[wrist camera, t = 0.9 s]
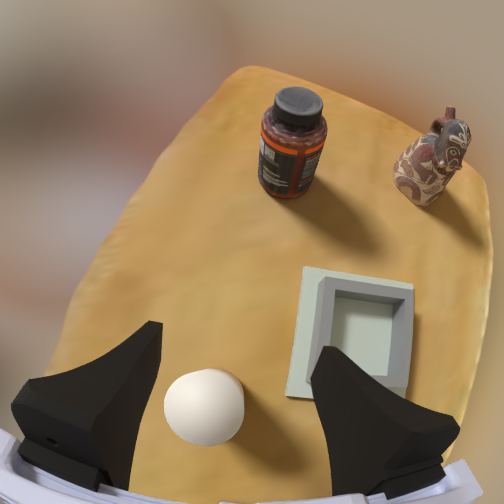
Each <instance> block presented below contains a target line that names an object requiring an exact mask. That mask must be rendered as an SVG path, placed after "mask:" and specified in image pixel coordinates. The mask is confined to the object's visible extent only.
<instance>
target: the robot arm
mask: <svg viewBox="0 0 504 504" xmlns="http://www.w3.org/2000/svg"><path fill="white" fill-rule="evenodd" d="M162 330H163V323H159V322H154V321H148V322H146V323H145V324H144V325H143V326H142V327H141V328H140V329H138V330H137V331H136V332H135V333H134V334H132V335H131V336H130V337H129V338H127V339H126V340H125V341H124V342H122V343H121V344H120V345H118V346H117V347H115V348H114V349H112V350H111V351H109V352H108V353H106V354H105V355H103V356H101V357H100V358H98V359H96V360H94V361H92V362H90V363H87V364H85V365H83V366H80V367H78V368H75V369H73V370H70V371H67V372H63V373H60V374H56V375H52V376H47V377H41V378H35V379H29V380H28V381H27V382H26V384H25V385H24V386H23V387H22V389H21V390H20V392H19V393H18V395H17V396H16V398H15V399H14V401H13V403H12V404H11V410H12V413H13V416H14V418H15V420H16V422H17V423H18V425H19V427H20V429H21V431H22V432H23V434H24V436H25V438H24V440H23V442H22V443H21V442H20V441H19V440H18V439H17V438H16V437H14V436H13V435H11V434H9V433H7V432H6V431H4V430H2V429H1V428H0V500H1V501H3V502H4V503H5V504H188V503H181V502H175V501H169V500H164V499H158V498H154V497H149V496H144V495H140V494H136V493H132V492H128V489H129V481H130V474H131V467H132V461H133V455H134V450H135V445H136V440H137V435H138V431H139V426H140V422H141V419H142V416H143V413H144V410H145V408H146V405H147V402H148V400H149V397H150V394H151V392H152V389H153V386H154V384H155V381H156V378H157V374H158V370H159V366H160V362H161V349H162ZM310 381H311V388H312V394H313V398H314V402H315V405H316V408H317V411H318V415H319V418H320V421H321V424H322V427H323V430H324V433H325V437H326V442H327V447H328V453H329V460H330V468H331V478H332V497H325V498H316V499H306V500H293V501H274V502H263V503H256V504H471V503H472V502H474V501H475V500H476V499H477V498H479V497H480V496H481V495H482V494H483V491H482V489H481V487H480V485H479V484H478V482H477V480H476V478H475V477H474V475H473V473H472V472H471V470H470V468H469V467H468V465H467V464H466V462H465V460H464V459H460V460H458V461H456V462H453V463H451V464H449V465H447V466H445V467H444V468H442V466H441V463H442V462H443V460H444V459H443V458H442V456H441V455H442V454H443V453H444V452H445V451H446V449H447V448H448V447H449V446H450V445H451V444H452V443H453V442H454V440H455V439H456V438H457V436H458V434H459V432H460V427H459V425H458V424H457V422H456V421H455V419H454V418H453V417H452V416H450V415H447V414H443V413H439V412H435V411H432V410H430V409H427V408H424V407H421V406H419V405H417V404H414V403H412V402H410V401H408V400H406V399H404V398H402V397H401V396H399V395H397V394H395V393H394V392H392V391H391V390H389V389H387V388H386V387H384V386H383V385H382V384H380V383H379V382H378V381H376V380H375V379H374V378H372V377H371V376H370V375H369V374H367V373H366V372H365V371H364V370H363V369H361V368H360V367H359V366H358V365H357V364H356V363H355V362H353V361H352V360H351V359H350V358H349V357H348V356H347V355H345V354H344V353H343V352H342V351H341V350H340V349H338V348H337V347H335V346H323V348H322V351H321V353H320V356H319V358H318V361H317V363H316V365H315V368H314V370H313V373H312V375H311V377H310ZM219 504H237V503H230V502H220V503H219Z"/></svg>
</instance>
